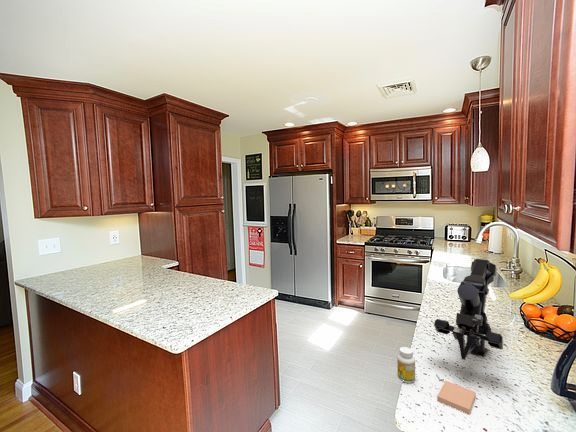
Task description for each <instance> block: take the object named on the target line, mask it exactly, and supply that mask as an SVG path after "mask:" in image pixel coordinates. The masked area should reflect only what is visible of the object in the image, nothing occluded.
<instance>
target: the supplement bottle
mask: <svg viewBox="0 0 576 432" xmlns="http://www.w3.org/2000/svg"><path fill="white" fill-rule="evenodd" d="M396 358H397V362H396V363H397V378H398V379H399V381H401V382H403V383H406V384H412V383H414V382H415V381H416V359H415V356H414V351H413V349H412V348H410V347H406V346H401V347H400V348H399V354H398V355H397V357H396ZM403 380H404V381H403Z"/></svg>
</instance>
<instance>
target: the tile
mask: <svg viewBox="0 0 576 432" xmlns="http://www.w3.org/2000/svg"><path fill="white" fill-rule="evenodd" d="M436 397H437V398H436V401H437V402H439V403H442V404H444V405H446V406H448V405H449V406H448V407H450V406H451V407H450V408H452V409H455V408H456V409H455V410H457V409H458V411H459V410H461V411H460V412H462V411H463V412H462V413H464V412H465V413H464V414H466V413H467V415H470V414H471V412H470V411H472V409H471V408H473V406H474V403H475V401H476V398H475V397H477V392H476V391H475V390H472V389H470V388H467V387H464V386H461V385H458V384H456V383H453V382H451V381H448V380H444V383H443V384H442V387H441V388H440V390H439V392H438V394H437V396H436ZM472 405H473V406H472Z"/></svg>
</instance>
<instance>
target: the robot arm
mask: <svg viewBox="0 0 576 432" xmlns="http://www.w3.org/2000/svg"><path fill="white" fill-rule="evenodd" d="M497 274H498V273H497V265H496V264H495V263H492V262H490V260H488V259H483V258H482V259H481V258H474V259H473V261H471V266H470V275H467V276H465V277H464V279H463V280H462V281H461V282H460V284H459V286H458V288H457V290H456V291H457V295H458V298H459V302H460V310H459V312H456V316H455V317H456V319H455V325H456V326H453V325H450V323H449V321H447V320H444V319H439V318H437V319H435V320H434V323H433V326H434V328H435V331H436V332H437V333H441V334H444V335H449V334H450V332H451V333H452V335H453V338H454V340H457V343H458V346H459V351H460V357H461V360H463V361H465V360H466V359H467V358H468V356H469V355H470V353H471V354H474V355H477V356H480V357H485V355H486V354H487V351H488V348H487V347H486V345H485V344H486V342H487V344H488V345H489V346H490V347H491V348H495V349H498V350H503V349H504V337H503V335H502V334H501V333H497V332H492V328H491V325H490V324H489V323H488V316H487V314H486V312H485V309H486V304H487V296H488V294H489V293H490V288H489V285H491V283H493V282H494V281H495V277H497ZM465 336H466V340H465ZM465 342H466V343H465Z"/></svg>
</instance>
